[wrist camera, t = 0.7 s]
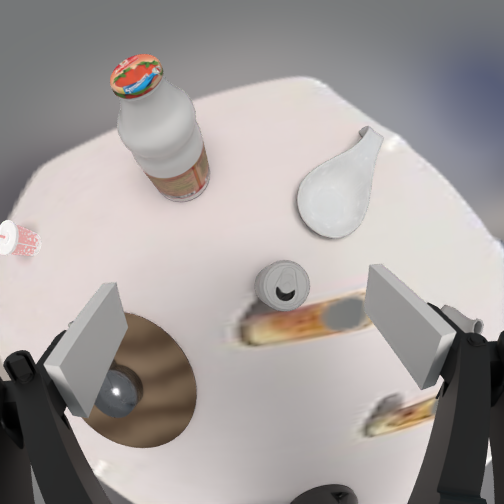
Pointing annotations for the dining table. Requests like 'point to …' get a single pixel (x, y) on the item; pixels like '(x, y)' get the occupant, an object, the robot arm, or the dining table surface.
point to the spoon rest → (340, 188)
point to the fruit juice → (160, 128)
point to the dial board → (151, 388)
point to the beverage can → (283, 285)
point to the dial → (119, 391)
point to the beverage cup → (18, 240)
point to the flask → (463, 320)
